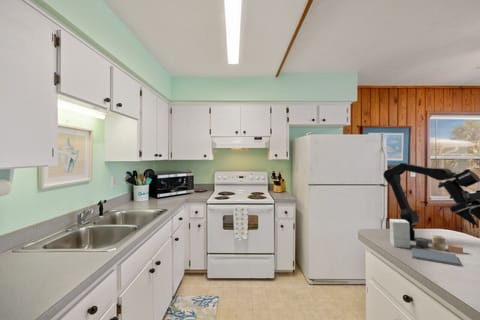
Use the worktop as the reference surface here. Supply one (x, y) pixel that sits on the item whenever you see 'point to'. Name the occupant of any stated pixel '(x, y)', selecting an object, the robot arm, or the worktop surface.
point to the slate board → (435, 256)
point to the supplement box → (399, 233)
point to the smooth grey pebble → (422, 243)
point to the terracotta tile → (455, 249)
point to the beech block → (438, 242)
